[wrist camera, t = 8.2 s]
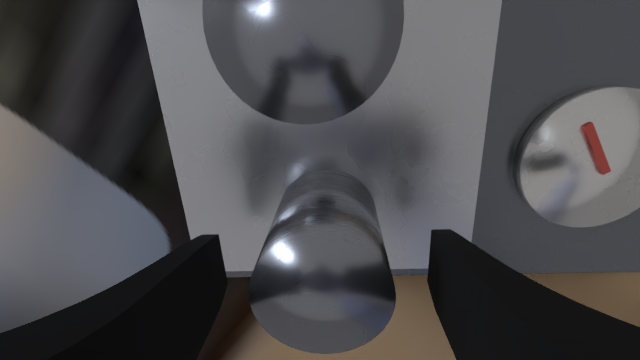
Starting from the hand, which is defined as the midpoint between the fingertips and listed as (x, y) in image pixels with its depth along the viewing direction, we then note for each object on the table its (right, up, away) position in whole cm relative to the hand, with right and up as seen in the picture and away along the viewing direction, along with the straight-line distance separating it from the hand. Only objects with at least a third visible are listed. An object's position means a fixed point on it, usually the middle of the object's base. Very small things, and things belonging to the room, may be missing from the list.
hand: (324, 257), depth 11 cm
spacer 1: (0, +8, 0) cm, 8 cm away
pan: (0, +4, +2) cm, 5 cm away
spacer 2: (0, +1, +2) cm, 3 cm away
